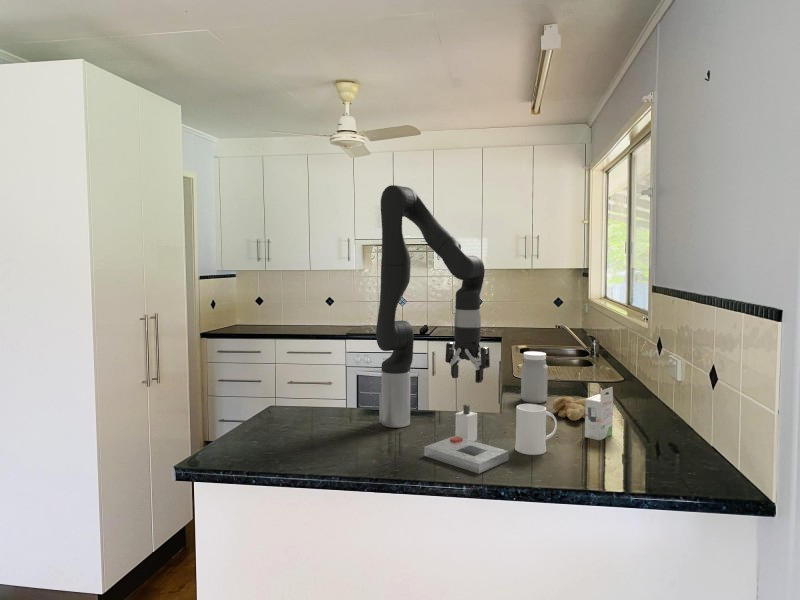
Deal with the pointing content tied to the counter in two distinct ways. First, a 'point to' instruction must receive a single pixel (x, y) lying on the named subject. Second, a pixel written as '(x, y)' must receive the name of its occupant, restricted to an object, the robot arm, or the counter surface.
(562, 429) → the counter surface
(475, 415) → the plug
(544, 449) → the mug
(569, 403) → the ginger root
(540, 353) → the jar
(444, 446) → the socket plate
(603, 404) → the ink box
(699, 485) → the counter surface
